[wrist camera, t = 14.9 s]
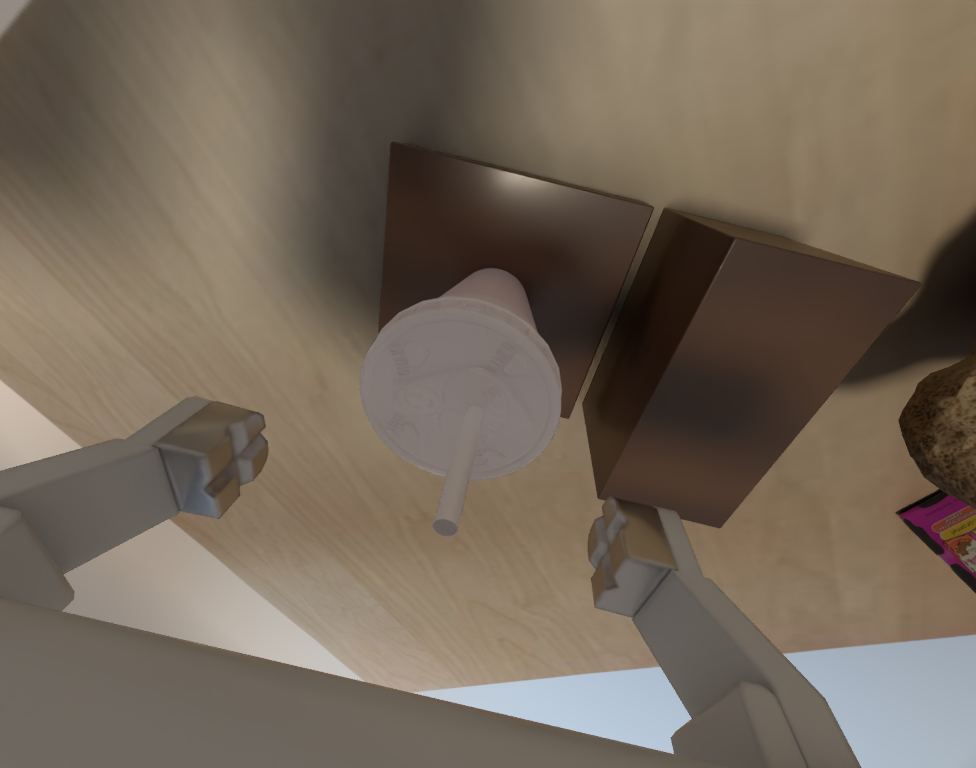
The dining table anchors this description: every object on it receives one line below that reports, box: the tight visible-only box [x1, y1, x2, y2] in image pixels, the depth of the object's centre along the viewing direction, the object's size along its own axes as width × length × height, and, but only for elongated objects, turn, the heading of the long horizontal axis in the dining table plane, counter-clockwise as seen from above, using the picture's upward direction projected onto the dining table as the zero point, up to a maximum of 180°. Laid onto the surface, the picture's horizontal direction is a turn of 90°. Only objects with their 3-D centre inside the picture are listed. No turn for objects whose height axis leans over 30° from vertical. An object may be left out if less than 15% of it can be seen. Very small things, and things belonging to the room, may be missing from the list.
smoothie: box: [360, 268, 562, 536], centre depth 14 cm, size 6×6×14 cm
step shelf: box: [379, 142, 921, 528], centre depth 18 cm, size 12×19×8 cm, turn 78°
